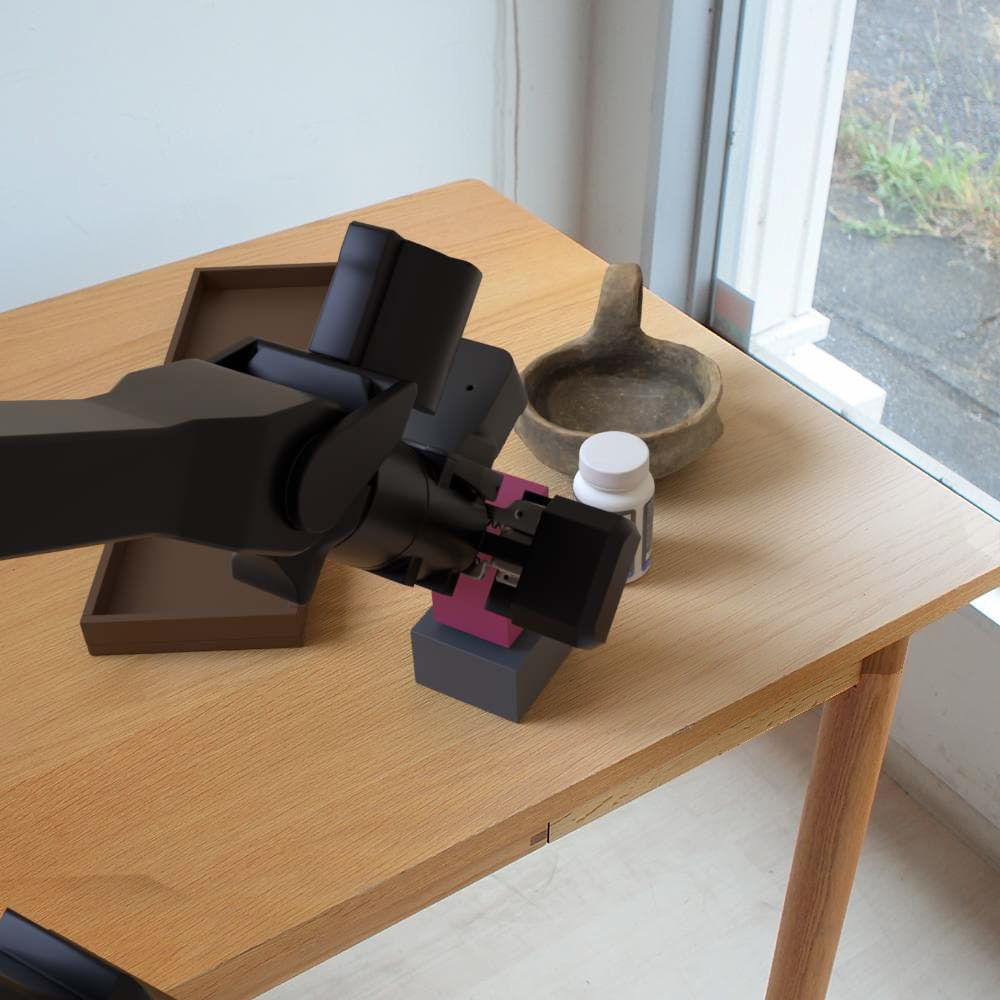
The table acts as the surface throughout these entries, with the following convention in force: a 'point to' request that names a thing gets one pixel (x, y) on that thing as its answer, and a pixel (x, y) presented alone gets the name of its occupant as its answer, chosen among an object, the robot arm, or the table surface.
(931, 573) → the table surface
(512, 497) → the mulberry block
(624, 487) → the pill bottle
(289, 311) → the tray
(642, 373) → the bowl
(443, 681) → the slate block
